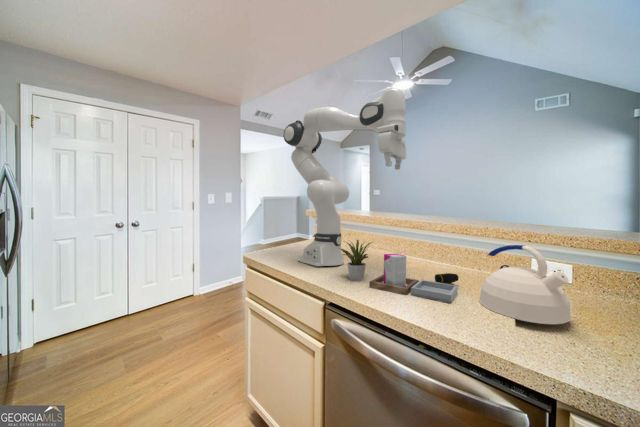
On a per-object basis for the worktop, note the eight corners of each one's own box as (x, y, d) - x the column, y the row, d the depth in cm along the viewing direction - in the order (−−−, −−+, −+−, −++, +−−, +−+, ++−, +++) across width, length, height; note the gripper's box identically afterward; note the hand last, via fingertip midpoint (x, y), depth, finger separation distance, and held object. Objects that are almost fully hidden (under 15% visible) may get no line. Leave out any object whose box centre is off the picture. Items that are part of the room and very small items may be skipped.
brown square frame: (369, 287, 90) (369, 281, 90) (384, 279, 100) (384, 274, 100) (406, 295, 82) (406, 289, 82) (418, 285, 92) (418, 279, 92)
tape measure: (460, 283, 91) (458, 272, 92) (445, 285, 89) (443, 274, 90) (446, 282, 97) (444, 272, 98) (432, 285, 95) (430, 274, 96)
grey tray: (411, 295, 82) (411, 287, 82) (421, 286, 91) (421, 279, 91) (450, 303, 75) (451, 295, 75) (457, 293, 84) (457, 285, 84)
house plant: (364, 273, 110) (364, 235, 109) (384, 281, 97) (384, 239, 96) (334, 276, 104) (334, 236, 104) (351, 285, 91) (351, 240, 91)
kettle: (535, 330, 59) (537, 253, 59) (462, 299, 79) (464, 241, 79) (593, 320, 65) (595, 249, 64) (511, 293, 85) (512, 239, 84)
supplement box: (406, 287, 90) (407, 255, 89) (392, 289, 87) (393, 256, 87) (395, 283, 95) (396, 252, 95) (382, 285, 93) (383, 253, 93)
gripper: (395, 139, 109) (394, 171, 109) (375, 127, 93) (374, 165, 93) (410, 137, 105) (409, 170, 105) (391, 123, 89) (391, 163, 89)
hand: (393, 167), depth 99 cm, fingers open, 8 cm apart
